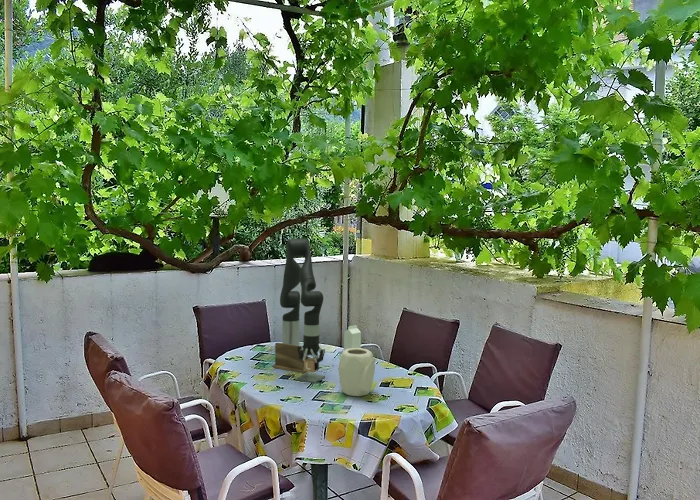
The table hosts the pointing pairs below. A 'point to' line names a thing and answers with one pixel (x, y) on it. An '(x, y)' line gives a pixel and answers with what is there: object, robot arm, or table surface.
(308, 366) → the letter cube
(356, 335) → the milk
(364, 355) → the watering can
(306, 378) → the slate pad
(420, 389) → the table surface
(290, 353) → the walnut screen
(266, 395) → the table surface
